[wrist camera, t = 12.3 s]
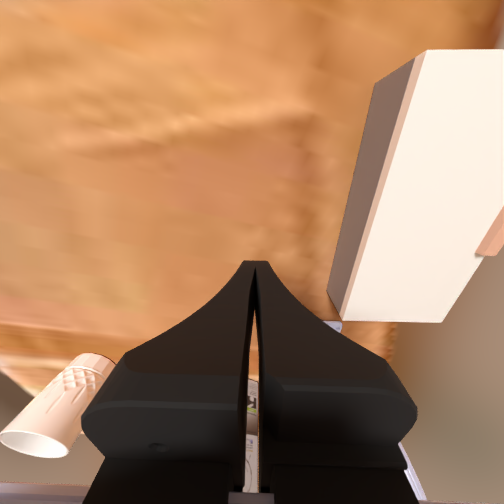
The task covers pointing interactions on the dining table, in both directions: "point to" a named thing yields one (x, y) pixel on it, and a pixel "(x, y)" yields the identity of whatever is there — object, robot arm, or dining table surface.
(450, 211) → the duct lid
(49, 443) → the white cup
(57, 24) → the dining table surface
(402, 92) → the cable duct
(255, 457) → the coffee box
